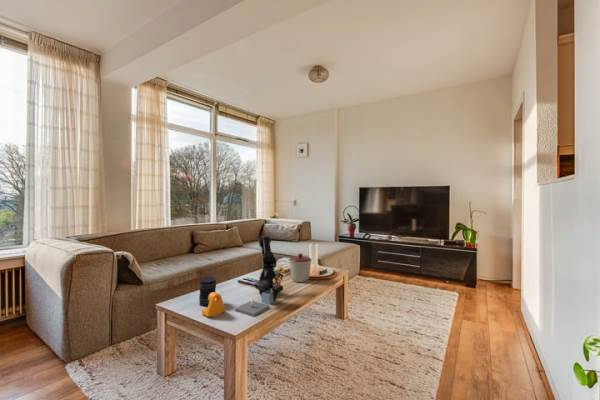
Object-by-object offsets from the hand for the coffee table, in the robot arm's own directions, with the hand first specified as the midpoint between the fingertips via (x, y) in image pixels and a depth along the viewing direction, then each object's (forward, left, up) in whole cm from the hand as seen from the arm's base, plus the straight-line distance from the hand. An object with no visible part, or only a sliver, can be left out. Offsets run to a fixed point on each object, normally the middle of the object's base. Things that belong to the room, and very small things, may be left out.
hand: (268, 299), depth 177 cm
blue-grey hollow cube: (0, 0, -1) cm, 1 cm away
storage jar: (-30, -22, -2) cm, 37 cm away
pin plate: (-1, -14, -1) cm, 14 cm away
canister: (-6, +48, -2) cm, 48 cm away
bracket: (-16, -30, -2) cm, 34 cm away
